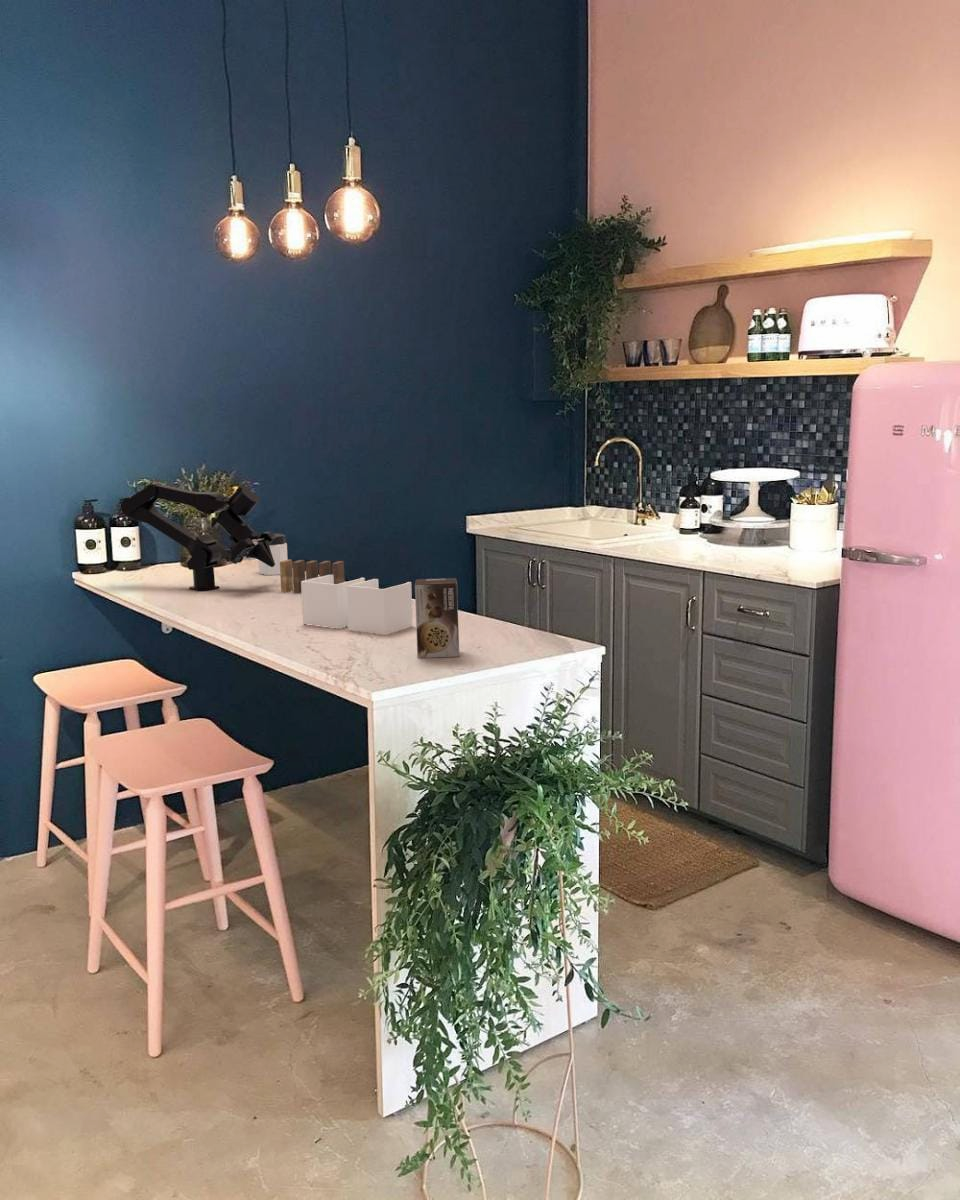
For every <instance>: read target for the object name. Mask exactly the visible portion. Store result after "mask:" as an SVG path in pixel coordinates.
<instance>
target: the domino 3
mask: <svg viewBox="0 0 960 1200" xmlns="http://www.w3.org/2000/svg"><path fill="white" fill-rule="evenodd" d="M318 577H319V563H318V560H316V559H315V560H312V559H311V560H310V561H307V562H305V580H309V579H313V578H318Z"/></svg>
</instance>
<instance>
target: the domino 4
mask: <svg viewBox="0 0 960 1200" xmlns="http://www.w3.org/2000/svg"><path fill="white" fill-rule="evenodd" d="M331 563H332V561H331V560H324V561H321V562H319V563H318V577H322V576H327V575H332V564H331Z"/></svg>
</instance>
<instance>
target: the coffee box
mask: <svg viewBox="0 0 960 1200" xmlns="http://www.w3.org/2000/svg"><path fill="white" fill-rule="evenodd" d="M414 595H415V597H414V598H415V599H414V600H415V621H416V624H415V625H416V627H415V628H416V650H417V654H416V657H417V659H423V658H424V659H425V658H426V659H427V658H455V657H457V658H458V657H460V637H459V634H460V633H459V631H460V630H459V629H460V628H459V605H458V602H459V601H458V582H457V578H456V577H454V578H453V577H452V578H448V577H447V578H444V577H443V578H419V579H415V581H414Z"/></svg>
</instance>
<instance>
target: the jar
mask: <svg viewBox="0 0 960 1200" xmlns="http://www.w3.org/2000/svg"><path fill="white" fill-rule="evenodd" d="M273 534H274V535H275V536H276V537H275V538H274V539H273V541H272V542H271V543H270V544H269V546H270V550H271V553H272V556H273V559H274V562H275V566H274V567H270V566H269V565H267V564H265V563H263V562H262V561H260V560H258V570H259V571H258V573H259V574H261V575H263V574H264V575H263V576H280V562H281V561H284V560H289V559H288V544H287V542H286V535H285V534H283V533H273ZM259 537H260V536H259ZM259 537H258V538H259Z"/></svg>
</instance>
